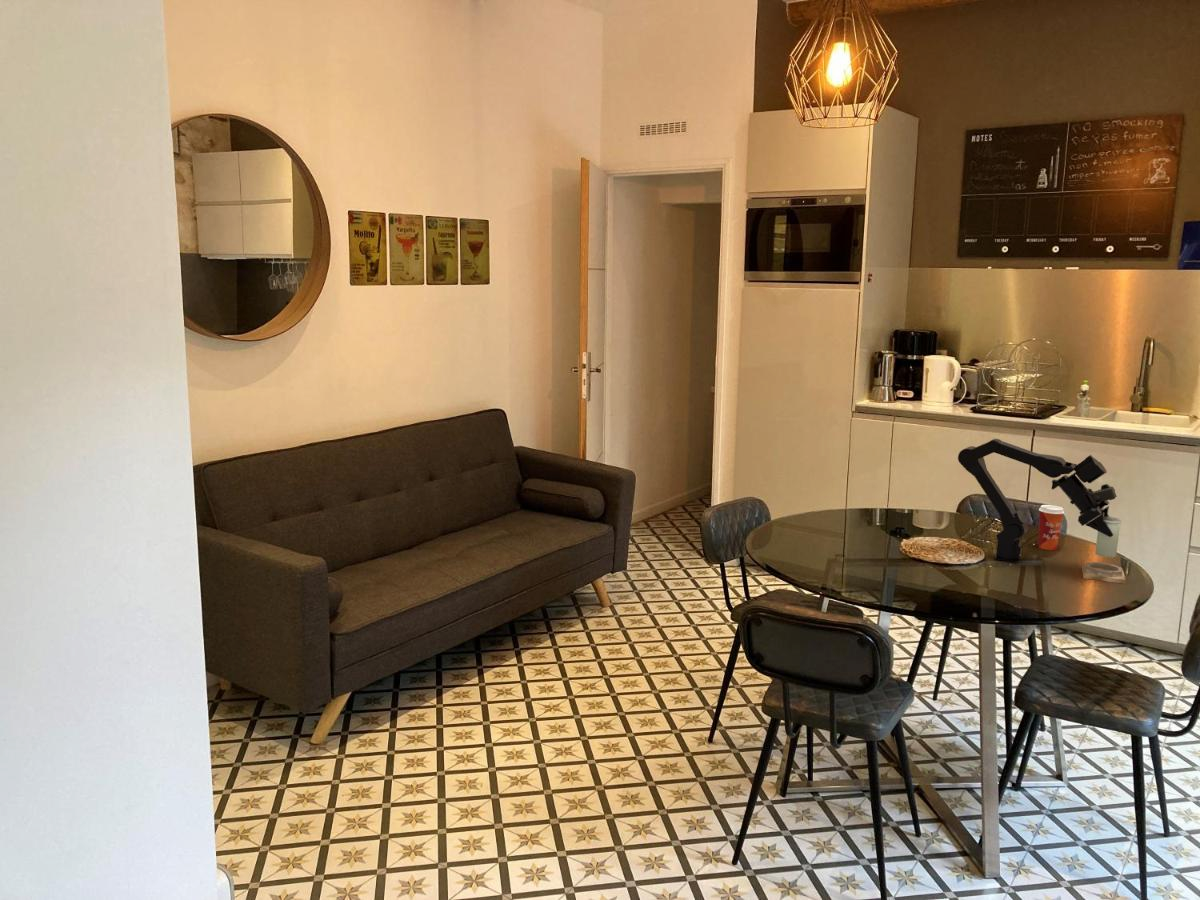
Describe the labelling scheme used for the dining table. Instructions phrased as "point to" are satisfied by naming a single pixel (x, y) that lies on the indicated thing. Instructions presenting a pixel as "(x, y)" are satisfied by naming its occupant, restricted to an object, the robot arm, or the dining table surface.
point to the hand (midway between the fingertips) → (1113, 534)
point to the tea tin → (1108, 539)
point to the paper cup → (1049, 526)
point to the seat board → (1103, 572)
